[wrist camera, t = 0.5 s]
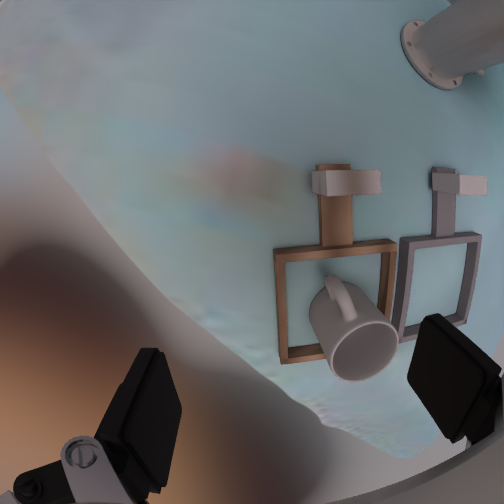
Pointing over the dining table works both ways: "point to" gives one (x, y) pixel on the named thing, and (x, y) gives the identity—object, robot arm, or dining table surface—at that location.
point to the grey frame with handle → (442, 234)
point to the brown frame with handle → (334, 245)
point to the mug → (352, 331)
